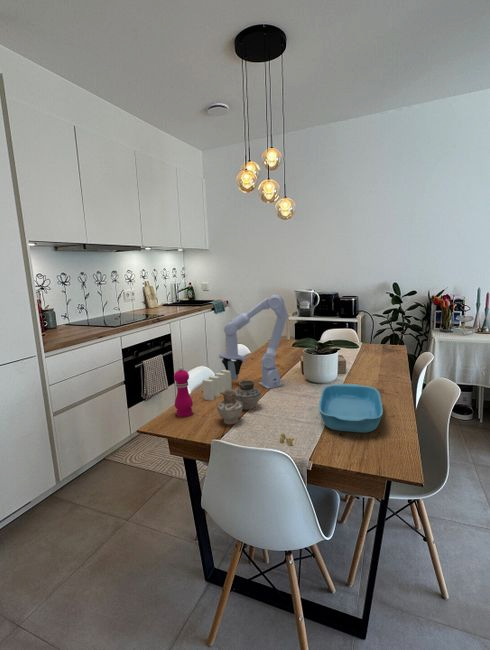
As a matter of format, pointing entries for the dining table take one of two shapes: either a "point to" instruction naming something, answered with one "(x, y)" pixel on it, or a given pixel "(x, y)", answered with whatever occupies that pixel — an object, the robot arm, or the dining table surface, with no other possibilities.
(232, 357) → the robot arm
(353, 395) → the casserole dish
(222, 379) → the tile
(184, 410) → the pepper mill
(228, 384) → the ivory tile
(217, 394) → the ivory tile
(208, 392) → the ivory tile
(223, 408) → the pottery
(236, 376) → the slate tile
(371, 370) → the dining table surface
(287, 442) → the olive bow shape
